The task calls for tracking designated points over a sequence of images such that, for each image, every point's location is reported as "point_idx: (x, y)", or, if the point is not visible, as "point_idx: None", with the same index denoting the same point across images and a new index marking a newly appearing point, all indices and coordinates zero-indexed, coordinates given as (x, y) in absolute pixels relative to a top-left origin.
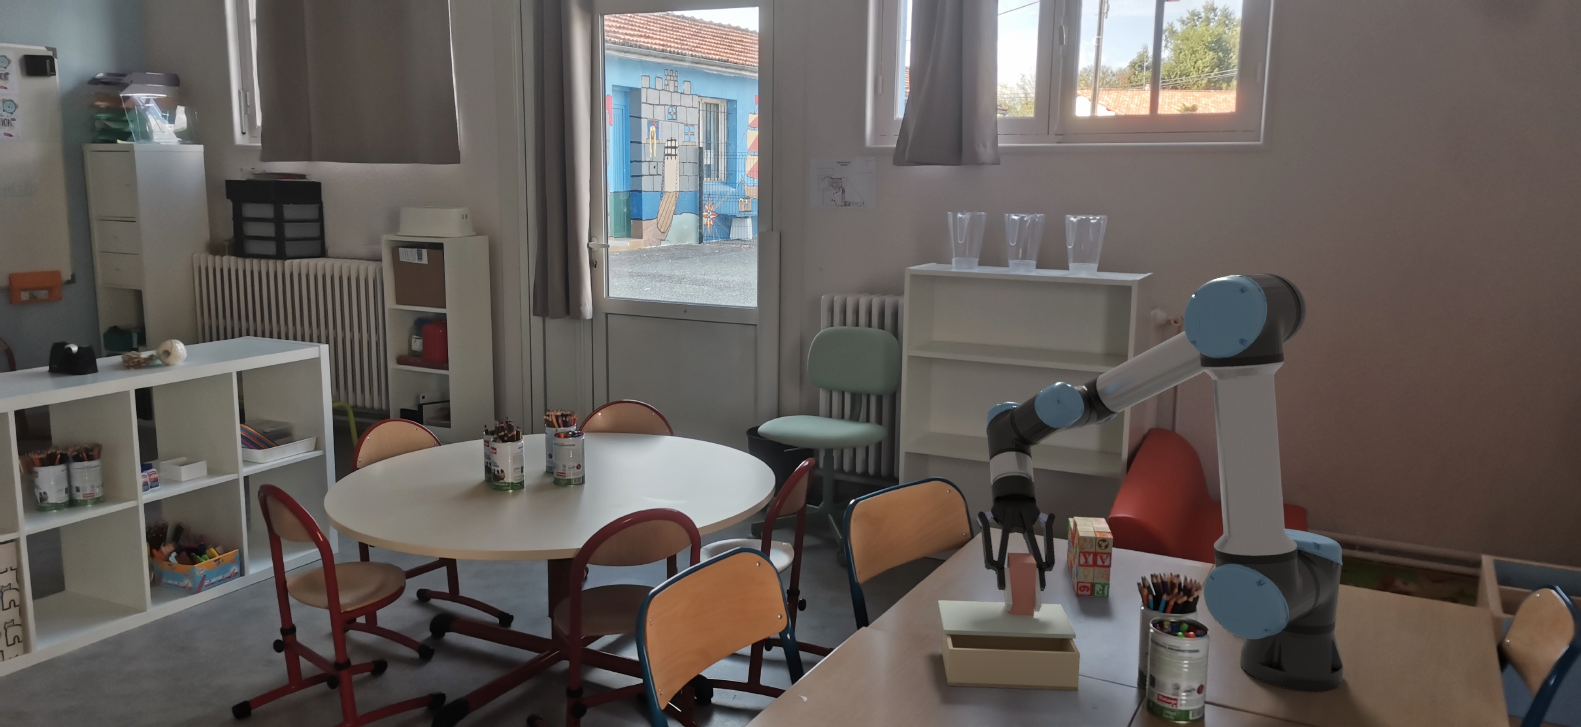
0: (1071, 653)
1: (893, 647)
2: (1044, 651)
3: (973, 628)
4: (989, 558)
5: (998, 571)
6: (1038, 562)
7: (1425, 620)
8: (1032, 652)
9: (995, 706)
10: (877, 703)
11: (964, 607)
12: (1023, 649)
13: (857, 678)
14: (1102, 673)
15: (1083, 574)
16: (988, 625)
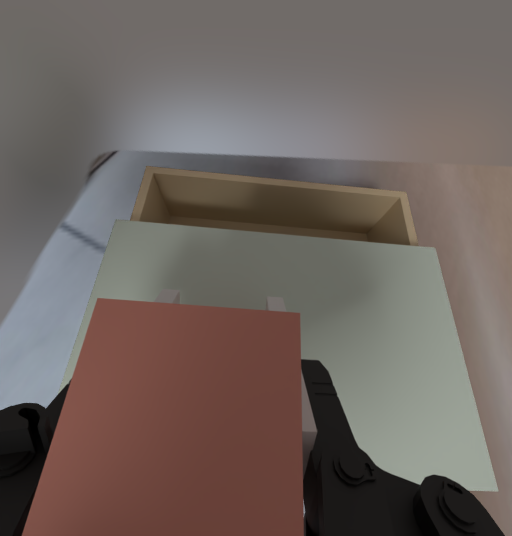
0: (163, 169)
1: (487, 389)
2: (217, 178)
3: (367, 254)
4: (474, 527)
5: (346, 434)
6: (15, 487)
7: None
8: (243, 176)
9: (303, 177)
10: (456, 189)
11: (399, 413)
12: None
13: (506, 256)
14: (88, 272)
15: None
16: (329, 272)
